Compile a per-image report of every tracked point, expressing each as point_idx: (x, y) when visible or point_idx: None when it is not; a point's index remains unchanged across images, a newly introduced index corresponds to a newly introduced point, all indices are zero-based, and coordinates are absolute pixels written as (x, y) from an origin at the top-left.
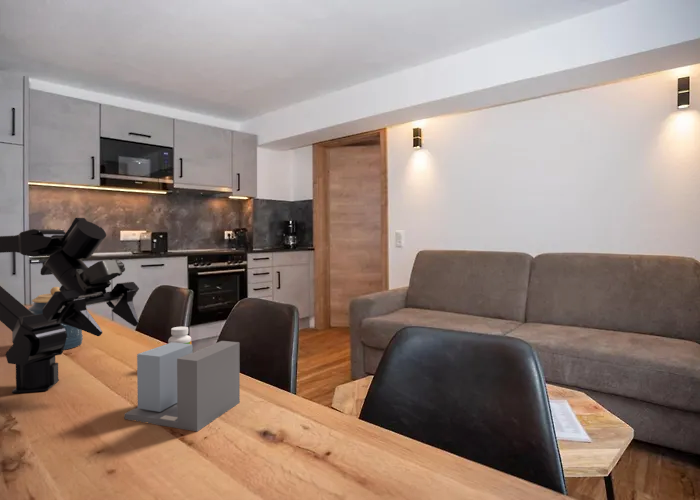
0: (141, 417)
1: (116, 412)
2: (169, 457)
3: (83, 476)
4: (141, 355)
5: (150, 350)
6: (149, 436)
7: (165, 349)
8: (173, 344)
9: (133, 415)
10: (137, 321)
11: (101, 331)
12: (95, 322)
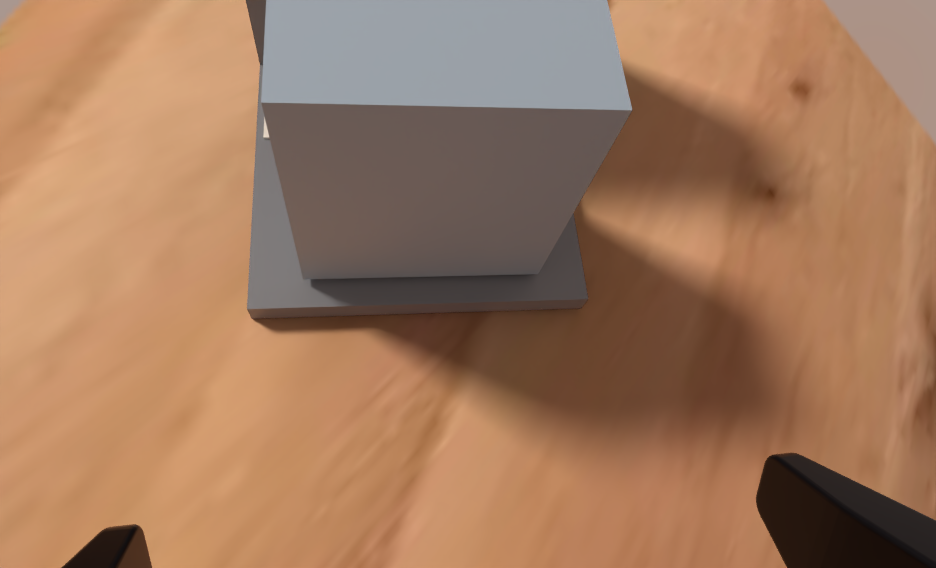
0: (573, 217)
1: (549, 401)
2: (679, 12)
3: (854, 131)
4: (623, 82)
5: (523, 92)
6: (628, 129)
7: (457, 25)
8: (316, 55)
9: (579, 255)
10: (111, 541)
11: (789, 456)
12: (915, 546)
